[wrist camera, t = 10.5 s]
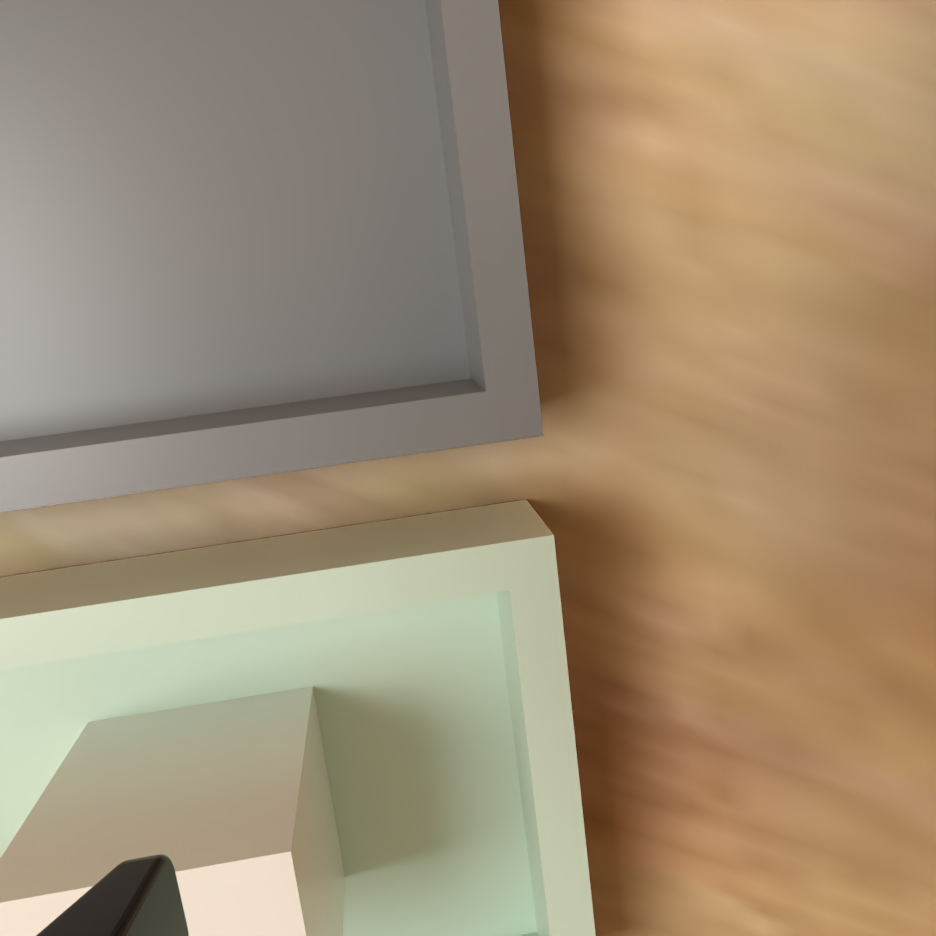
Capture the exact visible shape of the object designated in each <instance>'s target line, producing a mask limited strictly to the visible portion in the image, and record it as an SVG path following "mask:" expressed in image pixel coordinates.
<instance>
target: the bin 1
mask: <svg viewBox="0 0 936 936" xmlns="http://www.w3.org/2000/svg"><path fill="white" fill-rule="evenodd" d="M538 436H543V426H542V417H541V407H540V398H539V388H538V378H537V369H536V359H535V350H534V340H533V330H532V321H531V311H530V302H529V292H528V283H527V273H526V263H525V254H524V244H523V235H522V225H521V216H520V206H519V196H518V187H517V177H516V168H515V158H514V148H513V139H512V129H511V120H510V110H509V101H508V91H507V81H506V72H505V62H504V53H503V43H502V33H501V24H500V14H499V5H498V0H0V513H1V512H8V511H15V510H22V509H29V508H36V507H43V506H50V505H57V504H64V503H72V502H79V501H86V500H93V499H100V498H107V497H114V496H121V495H128V494H135V493H142V492H149V491H156V490H163V489H171V488H178V487H185V486H192V485H199V484H206V483H213V482H220V481H227V480H234V479H241V478H248V477H255V476H262V475H269V474H277V473H284V472H291V471H298V470H305V469H312V468H319V467H326V466H333V465H340V464H347V463H354V462H361V461H368V460H375V459H383V458H390V457H397V456H404V455H411V454H418V453H425V452H432V451H439V450H446V449H453V448H460V447H467V446H474V445H482V444H489V443H496V442H503V441H510V440H517V439H524V438H531V437H538Z"/></svg>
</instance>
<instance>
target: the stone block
mask: <svg viewBox="0 0 936 936" xmlns="http://www.w3.org/2000/svg"><path fill="white" fill-rule="evenodd" d="M158 854H164V855H166V856H168V857H169V858H170V860H171V861H172V863H173V866H174V869H175V873H176V878H177V882H178V887H179V891H180V895H181V900H182V904H183V909H184V913H185V918H186V922H187V927H188V933H189V936H343V920H344V891H345V874H344V868H343V862H342V856H341V850H340V844H339V839H338V833H337V827H336V821H335V815H334V809H333V803H332V797H331V791H330V785H329V779H328V773H327V767H326V761H325V756H324V750H323V744H322V738H321V732H320V726H319V720H318V714H317V708H316V702H315V696H314V690H313V686H311V687H304V688H298V689H292V690H286V691H279V692H273V693H267V694H261V695H254V696H248V697H242V698H236V699H230V700H223V701H217V702H211V703H205V704H198V705H192V706H186V707H180V708H173V709H167V710H161V711H155V712H148V713H142V714H136V715H130V716H123V717H117V718H111V719H105V720H98V721H92V722H88V723H87V725H86V726H85V728H84V729H83V731H82V732H81V734H80V735H79V737H78V739H77V740H76V742H75V743H74V745H73V746H72V748H71V749H70V751H69V753H68V754H67V756H66V757H65V759H64V760H63V762H62V763H61V765H60V767H59V768H58V770H57V771H56V773H55V774H54V776H53V777H52V779H51V781H50V782H49V784H48V785H47V787H46V788H45V790H44V791H43V793H42V795H41V796H40V798H39V799H38V801H37V802H36V804H35V805H34V807H33V809H32V810H31V812H30V813H29V815H28V816H27V818H26V819H25V821H24V823H23V824H22V826H21V827H20V829H19V830H18V832H17V833H16V835H15V837H14V838H13V840H12V841H11V843H10V844H9V846H8V847H7V849H6V851H5V852H4V854H3V855H2V857H1V858H0V936H36V935H37V934H38V933H40V932H41V931H42V930H43V929H44V928H45V927H47V926H48V925H49V924H50V923H51V922H52V921H54V920H55V919H56V918H57V917H58V916H59V915H60V914H62V913H63V912H64V911H65V910H66V909H67V908H69V907H70V906H71V905H72V904H73V903H74V902H76V901H77V900H78V899H79V898H80V897H81V896H82V895H84V894H85V893H86V892H87V891H88V890H89V889H91V888H92V887H93V886H94V885H95V884H96V883H98V882H99V881H100V880H101V879H102V878H103V877H104V876H106V875H107V874H108V873H109V872H110V871H111V870H113V869H114V868H115V867H116V866H117V865H119V864H120V863H121V862H123V861H126V860H130V859H135V858H141V857H147V856H153V855H158Z"/></svg>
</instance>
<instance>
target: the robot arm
mask: <svg viewBox="0 0 936 936" xmlns="http://www.w3.org/2000/svg"><path fill="white" fill-rule="evenodd" d="M36 936H189V933H188V927H187V922H186V918H185V913H184V909H183V904H182V900H181V895H180V891H179V887H178V882H177V878H176V873H175V869H174V866H173V863H172V861H171V860H170V858H169V857H168V856H166V855H164V854H158V855H153V856H147V857H141V858H135V859H130V860H126V861H123V862H121V863H120V864H119V865H117V866H116V867H115V868H114V869H113V870H111V871H110V872H109V873H108V874H107V875H106V876H104V877H103V878H102V879H101V880H100V881H99V882H98V883H96V884H95V885H94V886H93V887H92V888H91V889H89V890H88V891H87V892H86V893H85V894H84V895H82V896H81V897H80V898H79V899H78V900H77V901H76V902H74V903H73V904H72V905H71V906H70V907H69V908H67V909H66V910H65V911H64V912H63V913H62V914H60V915H59V916H58V917H57V918H56V919H55V920H54V921H52V922H51V923H50V924H49V925H48V926H47V927H45V928H44V929H43V930H42V931H41V932H40V933H38V934H37V935H36Z"/></svg>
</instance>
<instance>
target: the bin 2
mask: <svg viewBox="0 0 936 936" xmlns="http://www.w3.org/2000/svg"><path fill="white" fill-rule="evenodd" d="M311 686H313V690H314V696H315V702H316V708H317V714H318V720H319V726H320V732H321V738H322V744H323V750H324V756H325V761H326V767H327V773H328V779H329V785H330V791H331V797H332V803H333V809H334V815H335V821H336V827H337V833H338V839H339V844H340V850H341V856H342V862H343V868H344V874H345V891H344V920H343V936H596V934H595V924H594V915H593V905H592V896H591V886H590V877H589V867H588V857H587V848H586V838H585V829H584V819H583V810H582V800H581V790H580V781H579V771H578V762H577V752H576V742H575V733H574V723H573V714H572V704H571V695H570V685H569V675H568V666H567V656H566V647H565V637H564V627H563V618H562V608H561V599H560V589H559V580H558V570H557V560H556V551H555V541H554V535H553V533H552V532H551V531H550V529H549V528H548V527H547V525H546V524H545V523H544V522H543V520H542V519H541V518H540V516H539V515H538V514H537V513H536V511H535V510H534V509H533V507H532V506H531V505H530V504H529V502H528V501H527V500H519V501H512V502H505V503H499V504H492V505H485V506H478V507H472V508H465V509H458V510H451V511H445V512H438V513H431V514H424V515H418V516H411V517H404V518H397V519H390V520H384V521H377V522H370V523H363V524H357V525H350V526H343V527H336V528H330V529H323V530H316V531H309V532H303V533H296V534H289V535H282V536H275V537H269V538H262V539H255V540H248V541H242V542H235V543H228V544H221V545H215V546H208V547H201V548H194V549H187V550H181V551H174V552H167V553H160V554H154V555H147V556H140V557H133V558H127V559H120V560H113V561H106V562H100V563H93V564H86V565H79V566H72V567H66V568H59V569H52V570H45V571H39V572H32V573H25V574H18V575H12V576H5V577H0V858H1V857H2V855H3V854H4V852H5V851H6V849H7V847H8V846H9V844H10V843H11V841H12V840H13V838H14V837H15V835H16V833H17V832H18V830H19V829H20V827H21V826H22V824H23V823H24V821H25V819H26V818H27V816H28V815H29V813H30V812H31V810H32V809H33V807H34V805H35V804H36V802H37V801H38V799H39V798H40V796H41V795H42V793H43V791H44V790H45V788H46V787H47V785H48V784H49V782H50V781H51V779H52V777H53V776H54V774H55V773H56V771H57V770H58V768H59V767H60V765H61V763H62V762H63V760H64V759H65V757H66V756H67V754H68V753H69V751H70V749H71V748H72V746H73V745H74V743H75V742H76V740H77V739H78V737H79V735H80V734H81V732H82V731H83V729H84V728H85V726H86V725H87V723H88V722H92V721H98V720H105V719H111V718H117V717H123V716H130V715H136V714H142V713H148V712H155V711H161V710H167V709H173V708H180V707H186V706H192V705H198V704H205V703H211V702H217V701H223V700H230V699H236V698H242V697H248V696H254V695H261V694H267V693H273V692H279V691H286V690H292V689H298V688H304V687H311Z"/></svg>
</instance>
